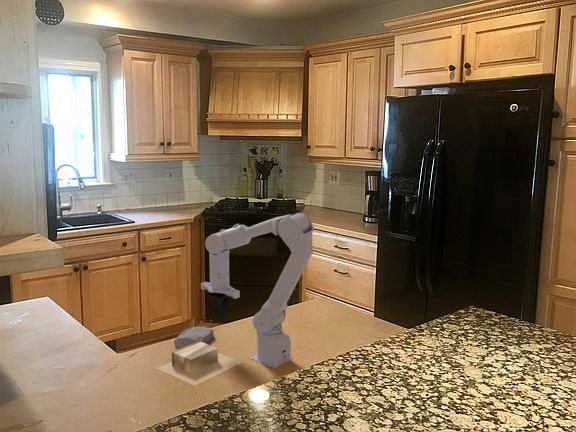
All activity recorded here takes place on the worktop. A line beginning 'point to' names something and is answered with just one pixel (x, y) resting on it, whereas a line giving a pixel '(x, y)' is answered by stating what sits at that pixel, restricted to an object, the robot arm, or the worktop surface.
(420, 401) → the worktop surface
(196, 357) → the maple block
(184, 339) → the stone block
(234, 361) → the beige square board
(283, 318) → the robot arm
